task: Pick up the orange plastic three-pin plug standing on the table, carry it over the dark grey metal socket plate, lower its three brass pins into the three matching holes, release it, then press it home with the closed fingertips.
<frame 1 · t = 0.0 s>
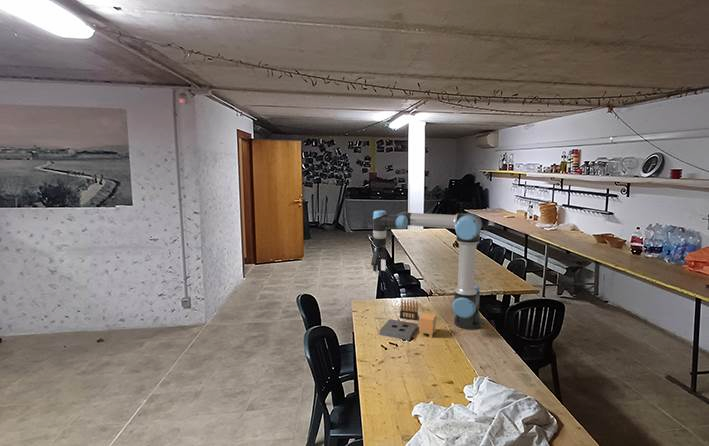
hand: (379, 273, 229), 28 cm above the table, fingers open, 13 cm apart
plug: (427, 333, 213), on the table
socket plate: (399, 331, 217), on the table
ammunition clip: (408, 319, 234), on the table
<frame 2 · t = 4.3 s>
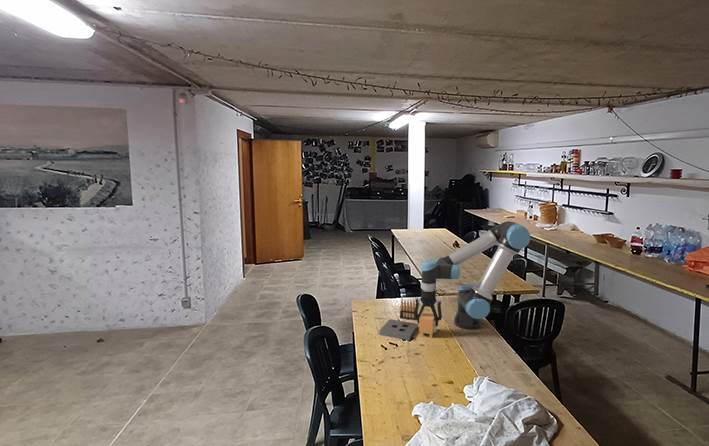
hand: (427, 330, 213), 2 cm above the table, fingers closed on plug, 7 cm apart
plug: (427, 333, 213), on the table, touching gripper
everything else where it was.
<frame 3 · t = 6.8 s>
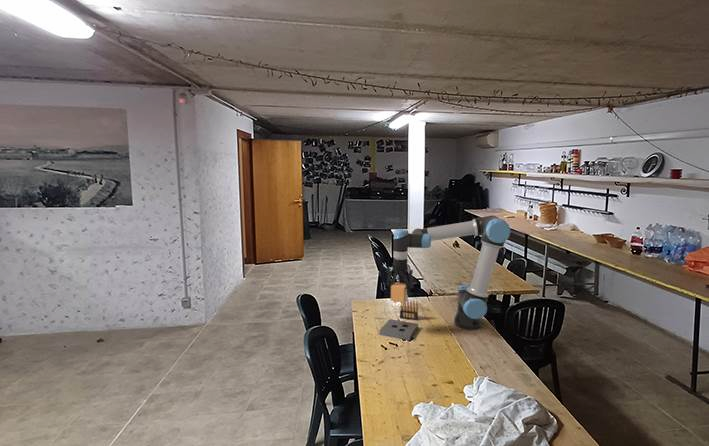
hand: (399, 299, 214), 18 cm above the table, fingers closed on plug, 7 cm apart
plug: (399, 302, 214), point 16 cm above the table, touching gripper
everything else where it was.
when the fingers open (3 cm above the table, at t = 9.7 s): plug stays where it is, resting on socket plate.
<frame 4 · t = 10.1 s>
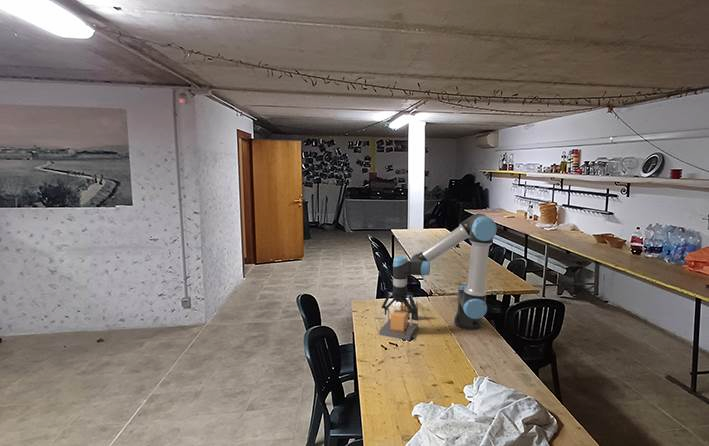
hand: (399, 322, 216), 5 cm above the table, fingers open, 13 cm apart
plug: (399, 330, 216), resting on socket plate
everything else where it was.
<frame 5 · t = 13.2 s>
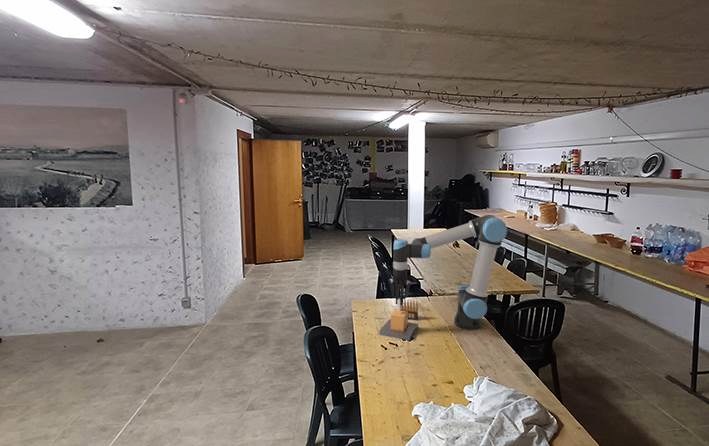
hand: (399, 310, 215), 12 cm above the table, fingers closed
nothing on the table moved.
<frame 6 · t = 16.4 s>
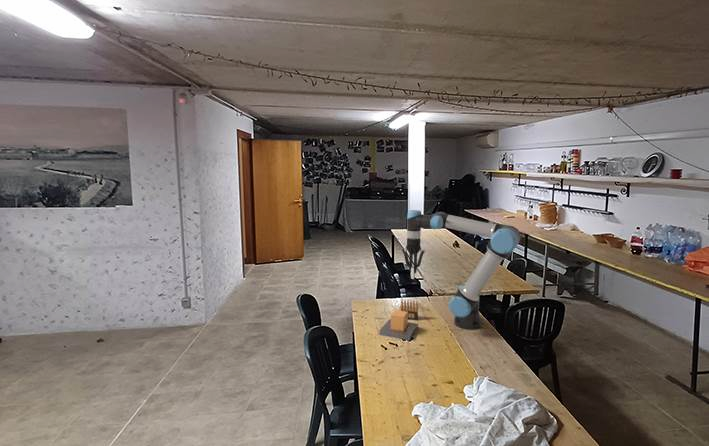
hand: (412, 278, 225), 26 cm above the table, fingers closed
nothing on the table moved.
at the end: plug 0.0 cm off-centre on the socket plate, point 0.4 cm above the socket plate's base; plug tilted 0°; the gripper is holding nothing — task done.
